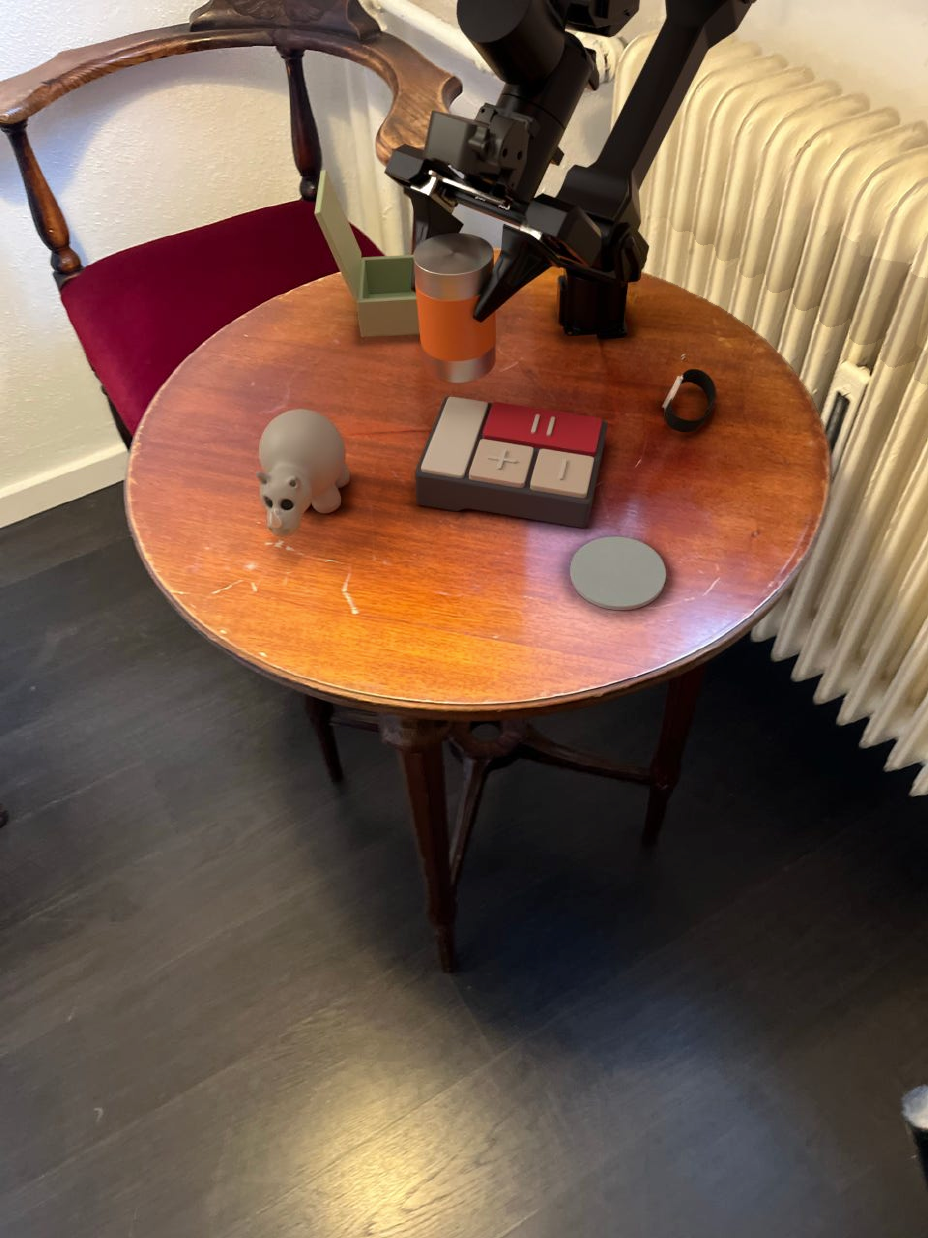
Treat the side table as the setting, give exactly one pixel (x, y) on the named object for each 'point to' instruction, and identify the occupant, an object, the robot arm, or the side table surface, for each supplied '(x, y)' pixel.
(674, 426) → the watch
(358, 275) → the box lid
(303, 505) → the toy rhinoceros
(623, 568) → the coaster
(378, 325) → the box
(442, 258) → the can
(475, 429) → the button control panel
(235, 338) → the side table surface
